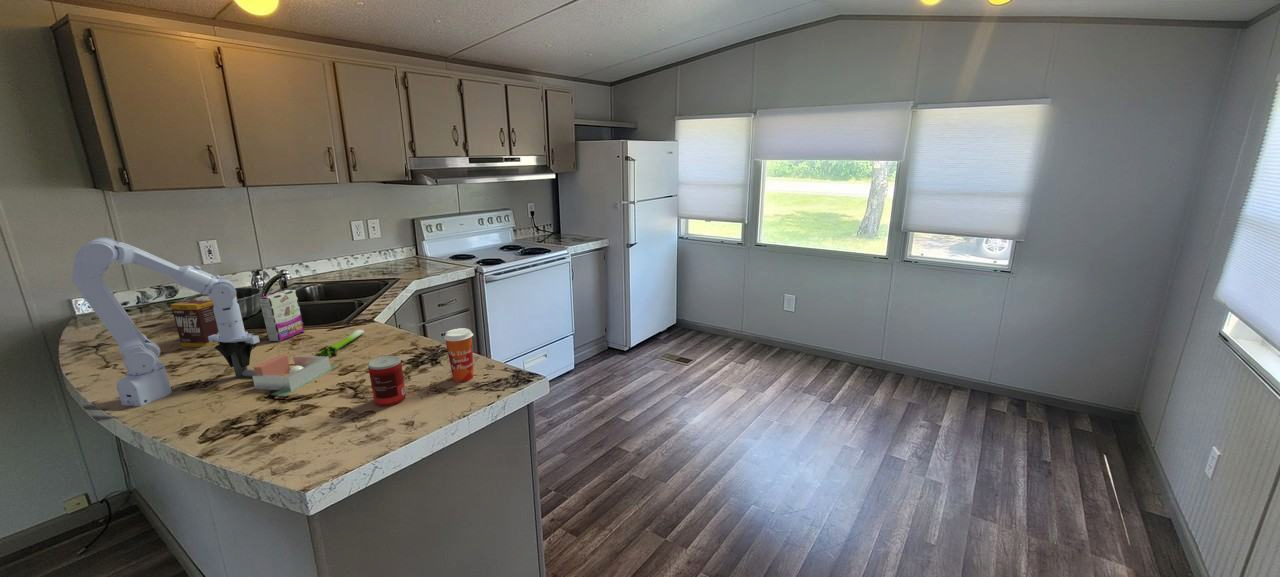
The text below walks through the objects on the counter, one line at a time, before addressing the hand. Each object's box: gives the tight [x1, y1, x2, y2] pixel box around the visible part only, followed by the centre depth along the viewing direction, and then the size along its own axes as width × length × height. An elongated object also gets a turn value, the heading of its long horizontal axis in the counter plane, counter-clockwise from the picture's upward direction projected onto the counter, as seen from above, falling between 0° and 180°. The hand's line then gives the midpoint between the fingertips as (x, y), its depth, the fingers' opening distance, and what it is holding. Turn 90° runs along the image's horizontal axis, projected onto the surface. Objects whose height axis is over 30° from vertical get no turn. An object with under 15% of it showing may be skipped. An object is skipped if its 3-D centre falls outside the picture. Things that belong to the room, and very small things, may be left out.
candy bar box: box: [259, 289, 306, 343], centre depth 184 cm, size 11×5×16 cm, turn 168°
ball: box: [288, 365, 304, 376], centre depth 146 cm, size 4×4×4 cm
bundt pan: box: [180, 286, 264, 319], centre depth 210 cm, size 26×26×10 cm
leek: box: [313, 329, 366, 358], centre depth 172 cm, size 6×7×30 cm
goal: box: [252, 355, 331, 392], centre depth 146 cm, size 15×11×4 cm
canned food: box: [367, 355, 407, 407], centre depth 133 cm, size 8×8×11 cm
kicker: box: [231, 353, 291, 379], centre depth 147 cm, size 9×13×7 cm
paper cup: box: [443, 327, 474, 383], centre depth 145 cm, size 8×8×14 cm
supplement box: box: [170, 294, 238, 348], centre depth 183 cm, size 10×15×16 cm
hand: (240, 365), depth 148 cm, fingers closed on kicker, 3 cm apart
